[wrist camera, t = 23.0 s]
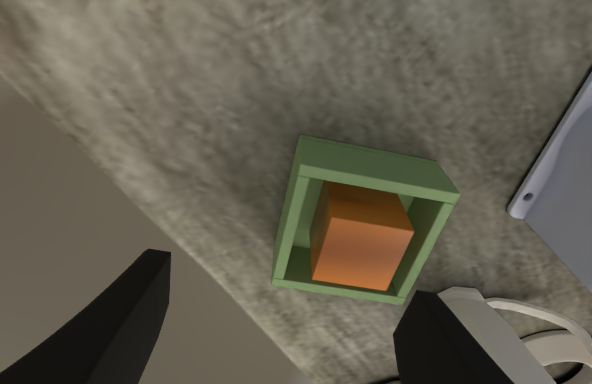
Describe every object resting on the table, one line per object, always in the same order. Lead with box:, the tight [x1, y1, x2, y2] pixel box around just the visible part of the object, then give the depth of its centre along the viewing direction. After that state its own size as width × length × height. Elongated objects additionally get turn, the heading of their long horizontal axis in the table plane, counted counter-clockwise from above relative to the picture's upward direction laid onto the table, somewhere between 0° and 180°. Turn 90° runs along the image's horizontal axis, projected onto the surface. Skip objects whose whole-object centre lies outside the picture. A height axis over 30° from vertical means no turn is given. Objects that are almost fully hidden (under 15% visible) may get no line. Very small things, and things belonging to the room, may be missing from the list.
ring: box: [521, 330, 592, 384], centre depth 29 cm, size 8×8×2 cm
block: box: [309, 180, 414, 291], centre depth 19 cm, size 4×4×4 cm
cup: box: [437, 286, 592, 384], centre depth 22 cm, size 7×10×8 cm
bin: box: [271, 134, 460, 305], centre depth 20 cm, size 8×8×4 cm
